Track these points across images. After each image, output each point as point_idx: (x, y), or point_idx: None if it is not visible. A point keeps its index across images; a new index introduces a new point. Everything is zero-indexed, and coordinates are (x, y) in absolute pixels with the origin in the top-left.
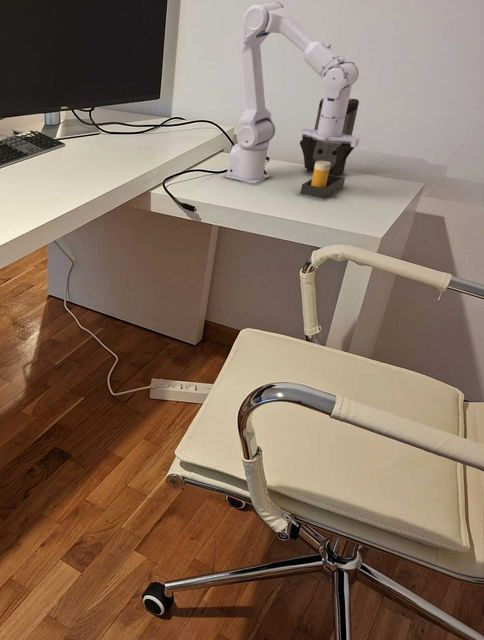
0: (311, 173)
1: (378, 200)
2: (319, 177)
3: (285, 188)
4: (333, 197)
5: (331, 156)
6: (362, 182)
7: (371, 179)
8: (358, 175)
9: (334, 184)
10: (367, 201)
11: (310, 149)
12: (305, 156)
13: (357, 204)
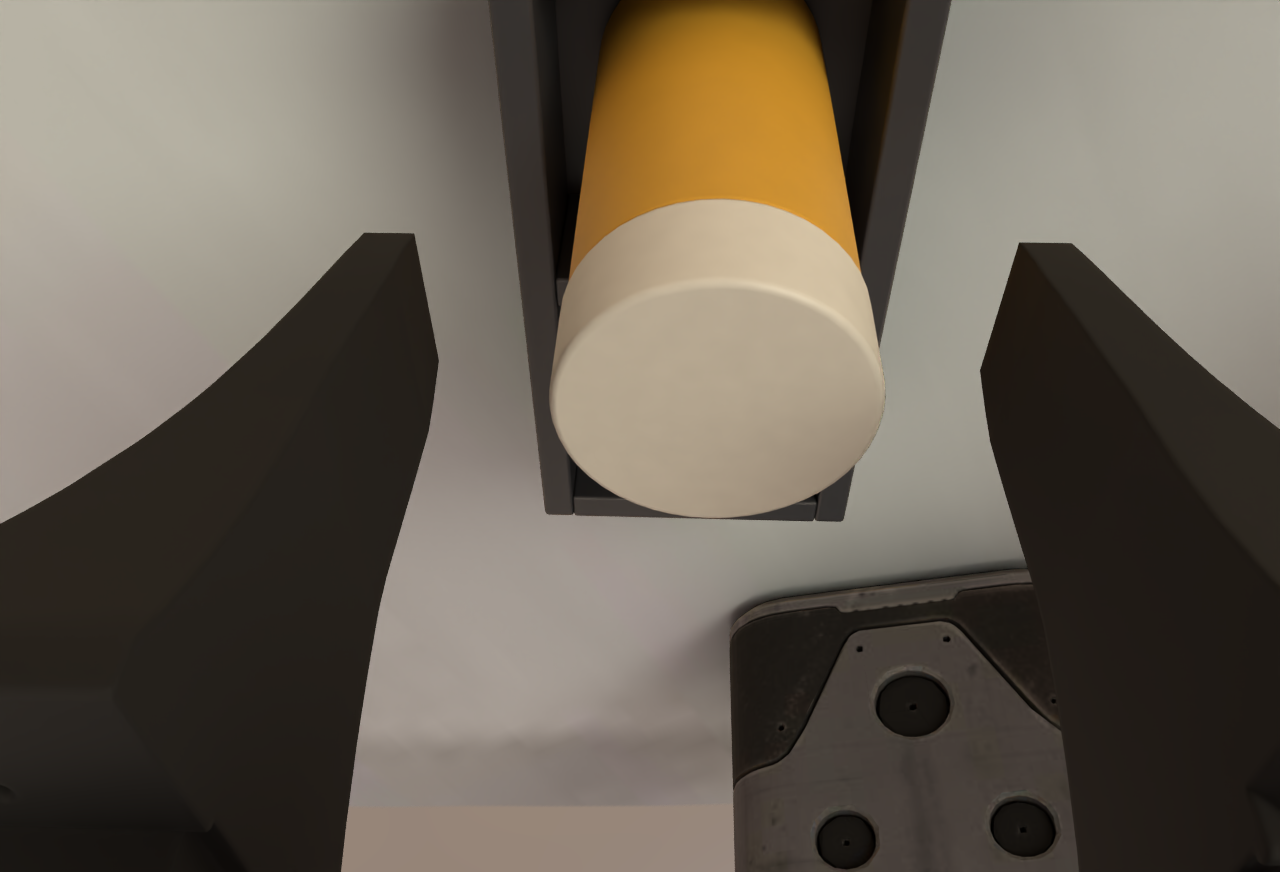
0: (1015, 577)
1: (40, 300)
2: (671, 116)
3: (1240, 13)
4: (459, 84)
5: (868, 792)
6: (509, 610)
7: (495, 681)
8: (628, 704)
9: (519, 270)
10: (78, 203)
11: (1145, 612)
12: (1186, 394)
13: (51, 21)
